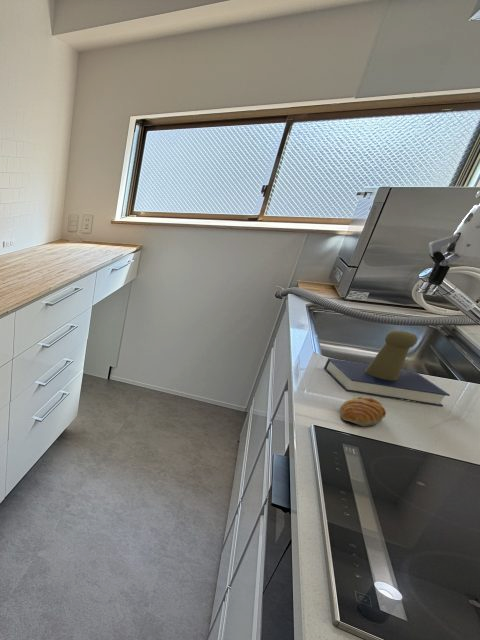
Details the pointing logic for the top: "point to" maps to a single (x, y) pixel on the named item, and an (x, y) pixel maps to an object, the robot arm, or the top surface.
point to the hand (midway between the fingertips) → (463, 286)
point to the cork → (392, 355)
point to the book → (384, 383)
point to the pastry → (363, 411)
